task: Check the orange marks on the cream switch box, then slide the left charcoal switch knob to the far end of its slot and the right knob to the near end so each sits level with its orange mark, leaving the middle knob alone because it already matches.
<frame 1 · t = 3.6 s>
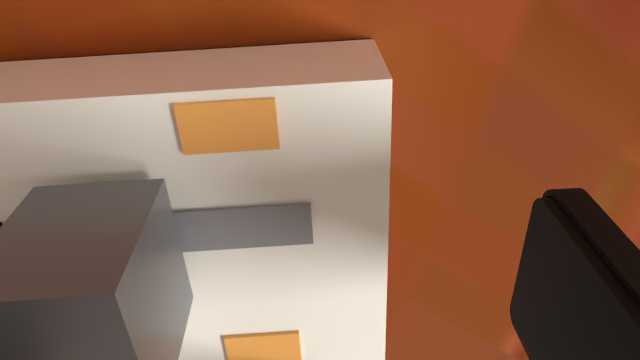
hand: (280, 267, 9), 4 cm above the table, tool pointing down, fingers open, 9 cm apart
switch box: (211, 336, 16), on the table
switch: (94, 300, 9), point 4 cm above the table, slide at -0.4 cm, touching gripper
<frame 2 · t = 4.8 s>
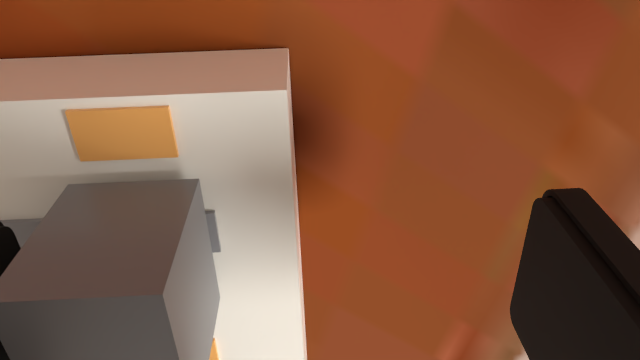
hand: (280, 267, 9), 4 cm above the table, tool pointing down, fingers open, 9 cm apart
switch box: (144, 341, 16), on the table
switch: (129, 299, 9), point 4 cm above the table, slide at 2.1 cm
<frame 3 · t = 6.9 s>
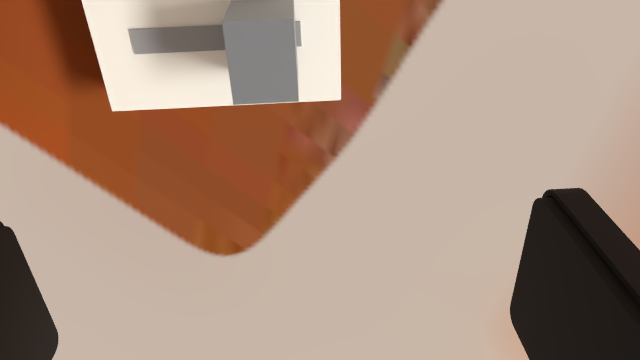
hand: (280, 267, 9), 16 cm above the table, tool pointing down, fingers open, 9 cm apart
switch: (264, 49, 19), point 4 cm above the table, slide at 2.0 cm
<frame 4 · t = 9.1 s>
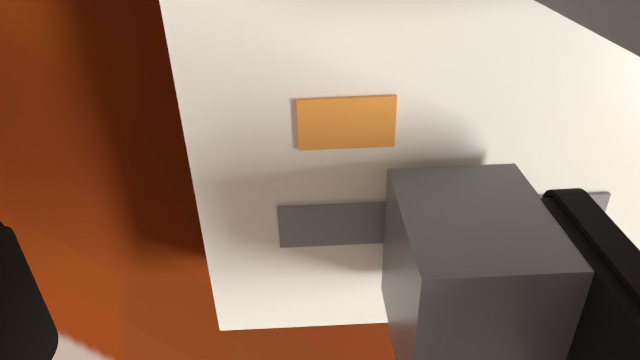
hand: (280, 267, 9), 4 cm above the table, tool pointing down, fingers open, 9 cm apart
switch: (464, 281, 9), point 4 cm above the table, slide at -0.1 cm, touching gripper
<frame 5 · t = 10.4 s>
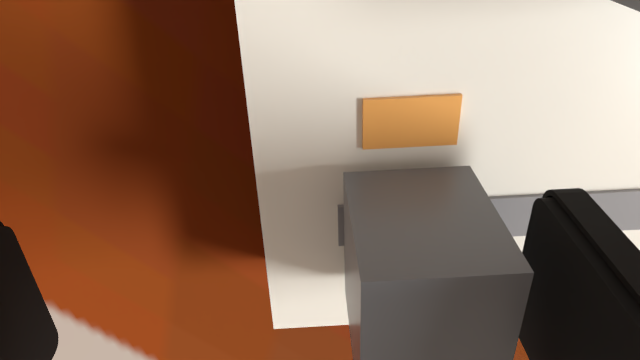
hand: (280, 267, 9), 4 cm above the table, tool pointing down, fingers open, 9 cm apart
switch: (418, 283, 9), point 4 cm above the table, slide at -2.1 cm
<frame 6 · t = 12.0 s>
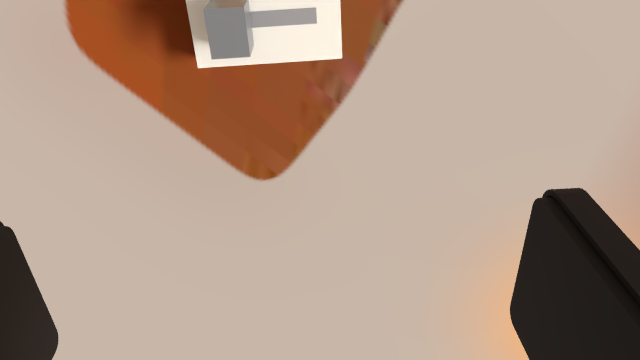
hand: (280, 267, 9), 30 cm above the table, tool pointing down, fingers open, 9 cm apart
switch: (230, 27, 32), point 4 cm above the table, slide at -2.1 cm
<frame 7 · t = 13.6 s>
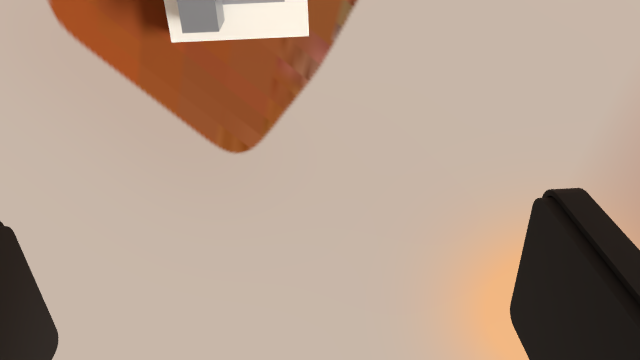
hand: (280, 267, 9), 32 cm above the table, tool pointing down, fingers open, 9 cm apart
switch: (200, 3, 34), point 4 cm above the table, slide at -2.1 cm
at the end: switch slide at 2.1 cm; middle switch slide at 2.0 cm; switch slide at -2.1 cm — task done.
